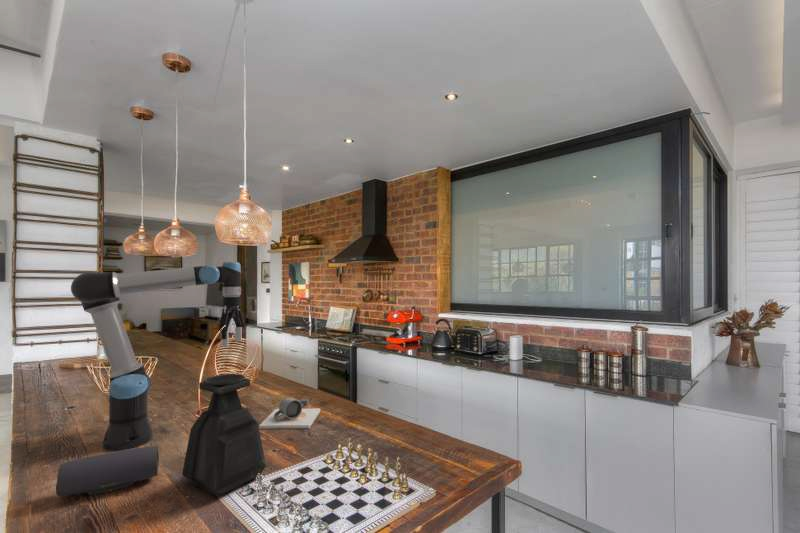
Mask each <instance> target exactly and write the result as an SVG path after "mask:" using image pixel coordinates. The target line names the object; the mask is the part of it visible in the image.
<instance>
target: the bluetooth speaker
mask: <svg viewBox="0 0 800 533" xmlns="http://www.w3.org/2000/svg"><path fill="white" fill-rule="evenodd" d="M159 454H160V453H159V445H151V446H144V447H143V446H142V447H134V448H128V449H123V450H116V451H112V452H107V453H101V454H97V455H92V456H91V455H90V456H88V457H87V456H86V457H82V458H81V457H80V458H76V459H73V460H70V461H65V462H62V463H60V465H59V467H58V470H57V478H56V485H55V493H56V496H57V497H64V496H72V495H77V494H84V493H87V495H89V496H91V495H97V494H102V493H107V492H106V491H108V492H111V491H110V490H112V491H116V490H115V489H117V490H120V489H119V488H121V489H124V488H123V487H125V488H129V487H131V486H133V484H134V483H137V482H139V481H143V480H147V479H151V478H153V477H156V476H158V472H159V465H160V464H159V461H160V458H159V456H160V455H159ZM128 486H129V487H128Z"/></svg>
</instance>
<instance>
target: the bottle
mask: <svg viewBox="0 0 800 533" xmlns="http://www.w3.org/2000/svg"><path fill="white" fill-rule="evenodd" d="M198 386H199V387H198V389H199V390H202V391H206V392H208V393H209V392H210V393H212V394H211V398H210V401H209V404H208V406H207V410H204V411H202V412H201V414H200V415H199V417H198V418H197V419H196V420H195V421H194V423H193V425H192V426H191V427H190V432H189V437H188V442H187V446H186V452H185V458H184V463H183V468H182V476H183V477H184V478H186V479H187V480H188V481H189V482H191V483H192V484H193V485H196V486H197V487H199V488H201V489H203V490H205V491H207V492H209V493H211V494H213V495H215V496H217V497H218V496H221V495H224V494H226V493H228V492H230V491H232V490H234V489H235V488H238V487H239V486H242V485H244V484H246V483H248V482H250V481H251V480H253V479H256V478H257V477H258V476H257V475H258V473H260V475H261V474H262V473H263V471H264V470H265V469H266V467H267V464H266V463H267V462H266V457H265V453H264V448H263V443H262V441H263V440H262V438H261V431H260V429H259V422H258V421H257V420H256V419H255V417H254V415H252V413H251V412H250V410H249V409H248V408H245V407H243V406H242V404H241V399H240V397H239V394H238V391H239V390H241V389H244V388H245V389H246V388H247V387H250V386H251V379H249V378H246V377H245V376H244V375H243V374H239V373H238V374H237V373H227V374H218V375H214V376H210V377H208V378H206V379H204V380H203V381H200V382H199V384H198Z"/></svg>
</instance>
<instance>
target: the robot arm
mask: <svg viewBox="0 0 800 533" xmlns="http://www.w3.org/2000/svg"><path fill="white" fill-rule="evenodd" d="M241 268H242V266H241V263H240V262H238V261H225V262H223V263H222V264H221V266H220V265H219V266H216V265H212V264H206V265H198V266H189V267H178V268H169V269H168V268H167V269H158V270H149V271H148V270H147V271H138V272H130V273H129V272H128V273H119V274H118V273H117V272H115V271H110V272H109V271H108V272H101V271H86V272H84V273H80V274H79V275H77V276H76V277H75V278H74V279H73V280H72V282H71V285H70V292H71V294H72V296H73V297H74V298H75V299H76V300H78V301H79V302H80V303H81V305H82V309H83V311H84V312H86V313H87V314H90V315H91V318H92V320H93V321H92V322H93V324H94V327H95V329H96V332H97V334H98V338H99V340H100V343H101V345H102V348H103V351H104V353H105V357H106V358H107V361H108V363H109V366H110V369H111V372H110V375H109V377H108V378H109V381H110V383H109V388H108V393H109V398H108V400H109V402H108V403H109V407H108V408H109V409H108V410H109V411H108V412H109V413H108V415H109V416H108V418H109V420H108V422H109V423H108V426H107V429H106V432H105V435H104V437H103V439H102V448H103V450H106V451H122V450H129V449H134V448H137V447H139V446H142V445H144V444H146V443H147V442H150V441H151V440H152V439H153V437H154V436H153V434H154V431H153V429H152V426H151V424H150V421H149V418H148V400H149V399H148V396H149V392H150V391H151V387H152V380H151V378H150V376H149V374H147V372H146V369H145V366H144V364H143V363H140V362H139V361H138V360H137V357H136V355H135V351H134V349H133V346H132V343H131V341H130V338H129V336H128V332H127V330H126V327H125V324H124V322H123V319H122V316H121V314H120V311H119V308H118V305H119V303H120V302H121V300H120V297H119V296H121V295H128V294H135V293H144V292H149V291H150V292H151V291H152V292H153V291H158V290H160V291H161V290H167V289H169V290H170V289H176V288H177V289H178V288H183V287H191V286H202V285H212V284H222V296H223V297H222V305H223V306H225V307H223V308H221V316H220V320H219V324H218V331H219V330H220V329H221V328H222V327H223V326H224V325H226V327H224V328H223V330H222V329H221V330H222V331H221V330H220V332H221V334H220V335H221V336H220V337H221V339H220V341H221V344H220V346H221V347H222V348H225V347H229V331H228V329H229V327H230V323H231V320H232V319H233V323H234V325H235V328H234V334H235V339H234V341H235V342H237V343H239V342H240V343H241V342H242V340H243V338H242V337H243V336H242V333H243V332H242V331H243V330H242V329H243V328H244V327H245V322H244V317H243V313H242V306H241V305H242V297H241V295H242V269H241Z"/></svg>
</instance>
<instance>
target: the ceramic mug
mask: <svg viewBox="0 0 800 533" xmlns="http://www.w3.org/2000/svg"><path fill="white" fill-rule="evenodd" d="M299 400H300V399H299ZM299 400H298V399H296V398H292V397H286V398H284V399H282V400H281V401H280V403H279V404H278V405H279V406H278V409H279V411H277V412H276V413H275V414H274V419H275V420H280V419H282V418H284V417H287V418H289V419H295V418H297V417H298V416H299V415H300V414H301V412H302V409H303V407H302V404H301V402H300V401H299ZM280 413H282V415H280V416H278V415H279V414H280ZM277 416H278V417H277Z"/></svg>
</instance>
